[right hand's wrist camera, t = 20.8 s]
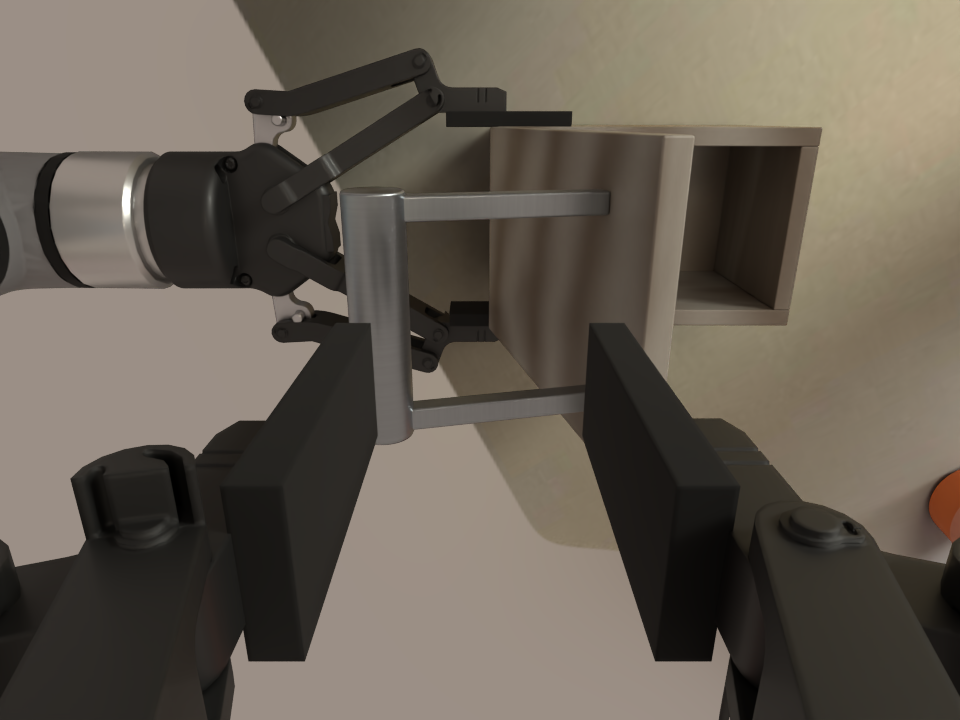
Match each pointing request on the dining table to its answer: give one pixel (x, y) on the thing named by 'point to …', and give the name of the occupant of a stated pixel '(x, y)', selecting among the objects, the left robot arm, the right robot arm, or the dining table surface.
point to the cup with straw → (947, 506)
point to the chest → (739, 219)
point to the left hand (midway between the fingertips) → (563, 221)
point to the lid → (531, 265)
